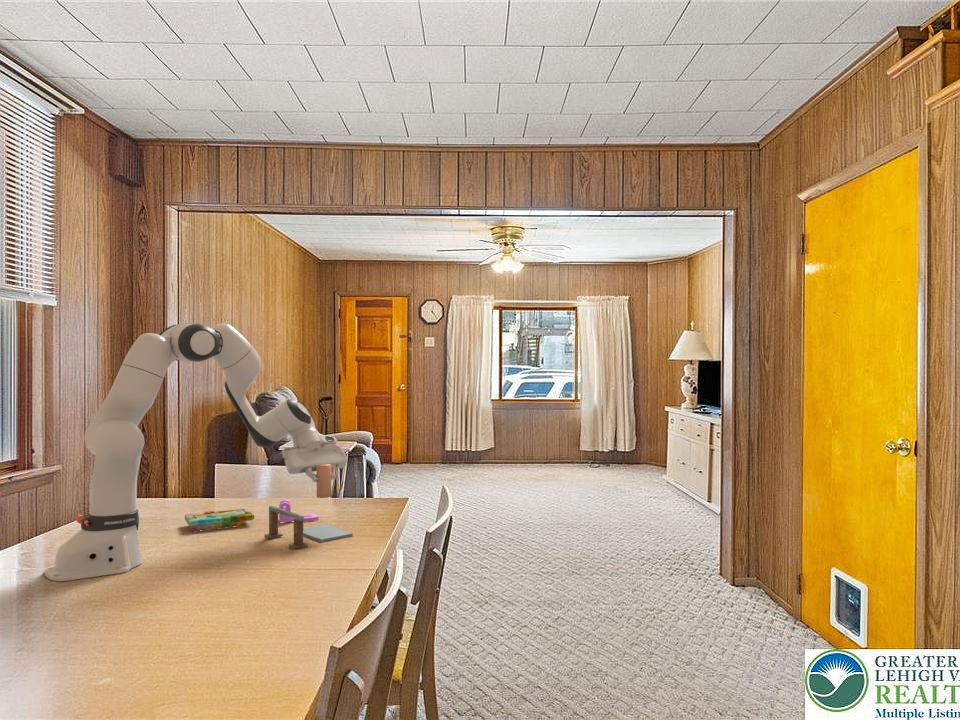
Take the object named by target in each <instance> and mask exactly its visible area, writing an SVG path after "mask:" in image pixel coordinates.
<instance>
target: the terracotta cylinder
mask: <svg viewBox="0 0 960 720" xmlns="http://www.w3.org/2000/svg"><path fill="white" fill-rule="evenodd" d="M315 472H316V473H315V475H316V474H318V477H319V480H318V482H316V498H319V499H327V498H331V497H332V480H331V464H319V465H316V471H315Z"/></svg>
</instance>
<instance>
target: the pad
mask: <svg viewBox="0 0 960 720" xmlns="http://www.w3.org/2000/svg"><path fill="white" fill-rule="evenodd" d="M303 535H304V536H303V537H306V538H308V537H309V539H310V540H314V541H317V542H319V543H324V542H330V541H334V540H340V539H345V538H348V537H349V538H350V537H353V535H354V534H353V533H352V532H350V531H346V530H343V529H341V528H337V527H334V526H332V525H329V524H322V525H317V526H311V527H306V528H303Z"/></svg>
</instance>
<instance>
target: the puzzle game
mask: <svg viewBox="0 0 960 720" xmlns="http://www.w3.org/2000/svg"><path fill="white" fill-rule="evenodd" d="M254 519H255V514H254V513H252V511H250V510H249V509H248V508H238V509H230V510H218V511H217V510H216V511H214V510H207V511H203V512H197V513H195V512H194V513H187V514H185V515H184V520H185V522H186V523H187V525H188V527H189V528H191V529H190V530H191V532H192V531H197V532H201V531H200V530H206V531H210V530H209V529H215V530H219V529H218V528H224V529H226V528H225V527H233V526H241V527H243V525H244V522H248V521H253V520H254ZM233 528H234V527H233Z"/></svg>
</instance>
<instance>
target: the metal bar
mask: <svg viewBox="0 0 960 720" xmlns="http://www.w3.org/2000/svg"><path fill="white" fill-rule="evenodd" d="M269 511H272V512H275V513H278V515H279V514H281V515H284V516H287V517H290V518H293V519H296V520H298V521H303V520H304V516H301V515H302V514H298V513H296V512H292V511H291V512H289V511H286V510H283V509H280V508H279V507H277V506H274V505H270V506H268V512H269Z"/></svg>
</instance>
